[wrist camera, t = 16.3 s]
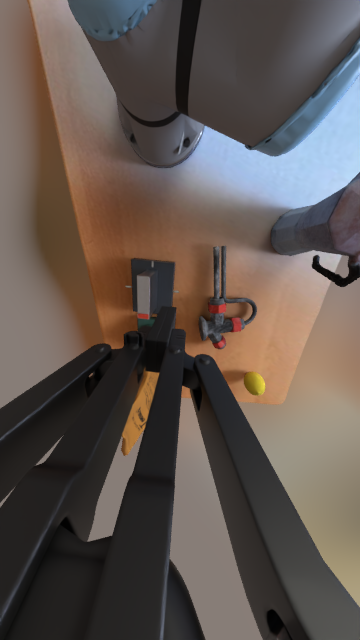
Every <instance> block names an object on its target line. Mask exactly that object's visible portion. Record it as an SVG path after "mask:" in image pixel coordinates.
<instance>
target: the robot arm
mask: <svg viewBox="0 0 360 640" xmlns="http://www.w3.org/2000/svg"><path fill="white" fill-rule="evenodd" d="M68 3H69V7H70V9H71V11H72V14H73V15H74V17H75V19H76V21H77V22H78V24H79V25H80V26H81V28H82V30H83V32H84V34H85V35H86V37H87V39H88V41H89V43H90V45H91V47H92V49H93V51H94V53H95V54H96V56H97V58H98V60H99V62H100V64H101V66H102V68H103V70H104V72H105V74H106V75H107V77H108V79H109V81H110V83H111V85H112V87H113V89H114V91H115V93H116V97H117V105H118V112H119V117H120V121H121V124H122V127H123V130H124V133H125V135H126V137H127V139H128V141H129V143H130V144H131V146H132V147H133V149H134V151H135V152H136V153H137V154H138V155H139V156H140V158H142V159H143V160H144V161H145V162H147V163H148V164H150V165H152V166H155V167H159V168H170V167H173V166H176V165H178V164H180V163H182V162H183V161H185V160H186V159H187V158H188V157H189V156H190V155H191V154H192V152H193V151H194V150H195V148H196V147H197V145H198V143H199V141H200V139H201V136H202V133H203V130H204V126H207V127H210V128H212V129H214V130H216V131H218V132H220V133H222V134H224V135H226V136H228V137H230V138H232V139H234V140H236V141H238V142H240V143H242V144H245V147H246V148H247V149H249V150H257V151H260V152H262V153H265V154H267V155H270V156H279V155H281V154H285V153H287V152H289V151H291V150H292V149H294V148H295V147H296V146H297V145H299V144H300V143H301V142H302V141H303V140H304V139H305V138H306V137H307V136H308V135H309V134H310V133H311V132H312V131H313V130H314V129H315V128H316V127H317V126H318V125H319V124H320V123H321V122H322V121H323V119H324V118H325V117H326V116H327V115H328V114H329V112H330V111H331V110H332V109H333V108H334V107H335V105H336V104H337V103H338V102H339V100H340V99H341V98H342V97H343V95H344V94H345V93H346V92H347V90H348V89H349V88H350V87H351V85H352V84H353V83H354V81H355V80H356V79H357V77H358V76H359V75H360V0H68ZM175 320H176V307H167V306H162V307H161V309H160V311H159V313H158V315H157V317H156V319H155V321H154V323H153V325H152V327H151V326H142V327H141V328H139V330H138V331H130V332H127V333H125V334H124V346H123V348H121V349H111V346H110V345H108V344H97V345H94V346H92V347H91V348H89V349H88V350H86V351H85V352H83V353H82V354H80V355H79V356H78V357H76V358H75V359H73V360H72V361H70V362H69V363H67V364H66V365H64V366H63V367H61V368H60V369H58V370H57V371H55V372H54V373H53V374H51V375H49V376H48V377H47V378H45V379H43V380H42V381H40V382H39V383H38V384H36V385H35V386H33V387H32V388H30V389H29V390H27V391H26V392H24V393H23V394H21V395H20V396H18V397H17V398H15V399H14V400H12V401H11V402H9V403H8V404H7V405H5V406H4V407H2V408H1V409H0V502H1V501H2V500H3V499H4V498H5V497H6V496H7V495H8V494H9V493H10V491H11V490H12V489H14V490H13V491H12V492H11V494H10V495H9V497H8V498H7V499H6V501H5V502H4V503H3V505H2V506H1V508H0V640H205V637H204V634H203V631H202V628H201V625H200V623H199V620H198V617H197V614H196V611H195V608H194V605H193V602H192V600H191V597H190V594H189V591H188V589H187V587H186V585H185V582H184V580H183V578H182V576H181V575H180V573H179V571H178V570H177V568H176V567H175V565H174V564H173V562H172V561H171V560H170V559H169V555H170V542H171V528H172V515H173V503H174V502H173V501H174V488H175V468H176V456H177V443H178V430H179V417H180V404H181V392H182V386H185V387H187V388H190V393H191V397H192V400H193V404H194V408H195V412H196V415H197V418H198V423H199V426H200V430H201V434H202V437H203V441H204V445H205V448H206V452H207V456H208V459H209V463H210V467H211V471H212V474H213V478H214V482H215V485H216V489H217V493H218V496H219V500H220V504H221V507H222V511H223V515H224V518H225V522H226V525H227V529H228V533H229V537H230V541H231V544H232V548H233V552H234V555H235V559H236V563H237V566H238V570H239V573H240V576H241V580H242V583H243V586H244V589H245V593H246V596H247V599H248V601H249V604H250V607H251V609H252V612H253V615H254V618H255V620H256V623H257V626H258V629H259V631H260V634H261V636H262V638H263V640H360V607H359V606H358V605H357V604H356V602H355V601H354V600H353V598H352V597H351V596H350V594H349V593H348V592H347V591H346V589H345V588H344V587H343V585H342V584H341V583H340V581H339V580H338V579H337V577H336V576H335V575H334V573H333V572H332V571H331V570H330V568H329V567H328V566H327V564H326V563H325V562H324V560H323V558H322V557H321V555H320V553H319V551H318V549H317V548H316V546H315V544H314V542H313V540H312V538H311V536H310V535H309V533H308V531H307V529H306V527H305V525H304V524H303V522H302V520H301V519H300V516H299V514H298V513H297V511H296V509H295V507H294V505H293V503H292V502H291V500H290V498H289V496H288V494H287V492H286V491H285V489H284V487H283V485H282V483H281V482H280V480H279V478H278V476H277V474H276V472H275V470H274V469H273V467H272V465H271V463H270V461H269V459H268V458H267V456H266V454H265V452H264V450H263V449H262V447H261V445H260V443H259V441H258V439H257V437H256V436H255V434H254V432H253V430H252V428H251V427H250V425H249V423H248V421H247V419H246V417H245V415H244V414H243V412H242V410H241V408H240V406H239V404H238V403H237V401H236V399H235V397H234V395H233V393H232V392H231V390H230V388H229V386H228V384H227V382H226V381H225V379H224V377H223V375H222V373H221V371H220V370H219V368H218V366H217V364H216V362H215V360H214V359H213V358H212V357H210V356H209V355H205V354H200V355H197V356H196V357H195V358H194V357H191V356H189V355H188V354H187V353H186V352H185V338H186V332H185V331H184V330H182V329H175ZM144 368H145V371H148V372H156V373H159V376H158V380H157V384H156V387H155V391H154V395H153V399H152V403H151V406H150V410H149V414H148V418H147V422H146V425H145V429H144V433H143V437H142V441H141V444H140V448H139V452H138V456H137V460H136V463H135V467H134V471H133V473H132V476H131V477H130V478H129V481H128V483H127V486H126V489H125V492H124V496H123V499H122V503H121V506H120V510H119V514H118V517H117V521H116V525H115V528H114V532H113V535H112V536H109V537H105V538H101V539H98V540H94V541H90V542H87V540H88V537H89V534H90V531H91V528H92V524H93V520H94V515H95V510H96V505H97V501H98V499H99V496H100V493H101V490H102V488H103V485H104V482H105V479H106V477H107V474H108V471H109V469H110V466H111V463H112V461H113V458H114V455H115V452H116V450H117V447H118V444H119V442H120V439H121V436H122V433H123V431H124V428H125V425H126V423H127V420H128V417H129V414H130V412H131V409H132V406H133V404H134V401H135V398H136V395H137V393H138V390H139V387H140V385H141V382H142V379H143V376H144ZM91 373H93V375H92V376H91V377H89V375H90V374H91ZM62 436H63V437H62ZM61 437H62V438H61ZM60 438H61V440H60V441H59V443H58V444H57V446H56V447H55V449H54V450H53V452H52V453H51V455H50V456H49V457H48V459H47V460H46V461H45V462H44V463H42V464H39V465H36V464H37V463H38V462H39V461H40V459H41V458H42V457H43V456H44V455H45V454H46V453H47V452H48V451H49V450H50V449H51V448H52V447H53V446H54V444H55V443H56V442H57V441H58V440H59V439H60ZM35 465H36V466H35ZM16 485H17V486H16ZM15 486H16V487H15ZM14 487H15V488H14Z"/></svg>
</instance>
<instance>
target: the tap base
mask: <svg viewBox="0 0 360 640" xmlns="http://www.w3.org/2000/svg"><path fill="white" fill-rule="evenodd" d="M131 265H132V295H133V311H135V312H138V303H137V275H139V274H141V273H143V272H144V271H146V270H155V271H158V280H157V307H156V309H155V310H154V312H153V314H158V313H159V311H160V309H161V307H162V306H167V307H172V303H173V292H177V293H179V291H173V289H174V275H175V262H167V261H157V260H147V259H137V258H134V259H131ZM126 287H129V288H131V286H126Z"/></svg>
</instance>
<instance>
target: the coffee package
mask: <svg viewBox="0 0 360 640" xmlns="http://www.w3.org/2000/svg"><path fill="white" fill-rule="evenodd" d="M158 376H159V373H156V372H148V371H145V368H144V376H143V379H142V382H141V385H140V387H139V390H138V393H137V395H136V398H135V401H134V404H133V406H132V409H131V412H130V414H129V417H128V420H127V423H126V425H125V428H124V431H123V433H122V437H123V441H122V448H121V451H122V452H123V455H124V456H125V455H128V453H129V452H130V450H131V448H132V447H133V446H134V444H135V442H136V441H137V439H138V437H139V436H140V434H141V433H142V432H143V430H144V429H145V425H146V422H147V418H148V414H149V410H150V406H151V403H152V399H153V395H154V391H155V387H156V384H157V380H158Z"/></svg>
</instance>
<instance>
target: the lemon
mask: <svg viewBox="0 0 360 640" xmlns="http://www.w3.org/2000/svg"><path fill="white" fill-rule="evenodd" d="M244 385H245V387H246V389H247V390H248V391H249V392H250V393H251V394H253V395H261V394H263V392H264V391H265V383H264V380H263V378H262V377H261V376H260V375H259V374H258V373H256V372H248V373H247V374H246V375H245V376H244Z"/></svg>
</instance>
